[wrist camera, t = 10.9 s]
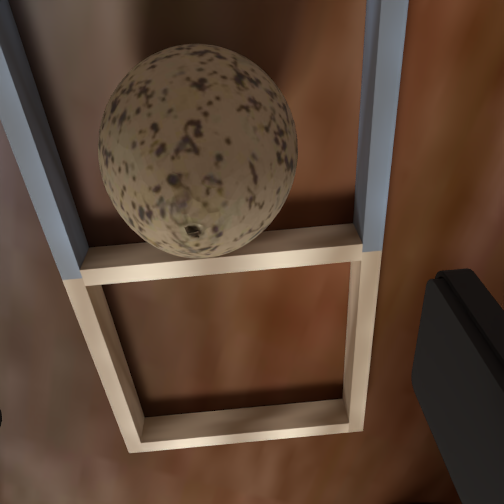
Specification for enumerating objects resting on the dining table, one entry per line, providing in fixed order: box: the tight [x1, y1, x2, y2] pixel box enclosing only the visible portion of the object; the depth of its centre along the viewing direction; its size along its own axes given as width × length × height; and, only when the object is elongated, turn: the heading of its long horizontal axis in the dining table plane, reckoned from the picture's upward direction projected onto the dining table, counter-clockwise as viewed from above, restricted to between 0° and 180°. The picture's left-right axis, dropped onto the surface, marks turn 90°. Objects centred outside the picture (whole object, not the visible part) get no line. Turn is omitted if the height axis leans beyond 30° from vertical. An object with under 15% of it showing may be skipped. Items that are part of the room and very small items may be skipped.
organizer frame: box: [0, 0, 409, 453], centre depth 24 cm, size 16×30×2 cm, turn 4°
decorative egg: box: [98, 44, 298, 258], centre depth 17 cm, size 7×7×10 cm
